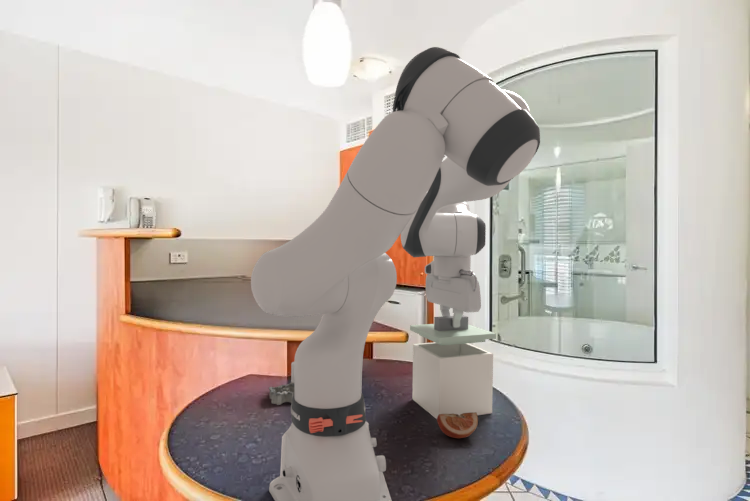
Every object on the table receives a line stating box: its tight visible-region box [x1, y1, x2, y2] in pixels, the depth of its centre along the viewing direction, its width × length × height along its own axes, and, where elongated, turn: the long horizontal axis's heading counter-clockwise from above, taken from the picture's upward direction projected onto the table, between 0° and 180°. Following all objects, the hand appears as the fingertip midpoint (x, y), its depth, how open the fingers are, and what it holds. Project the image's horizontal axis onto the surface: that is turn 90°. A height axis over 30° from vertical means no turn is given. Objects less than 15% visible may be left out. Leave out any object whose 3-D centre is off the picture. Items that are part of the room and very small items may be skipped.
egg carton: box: [268, 381, 294, 406], centre depth 108 cm, size 11×8×4 cm
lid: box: [409, 314, 497, 345], centre depth 103 cm, size 15×15×5 cm
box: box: [411, 342, 494, 420], centre depth 103 cm, size 14×14×14 cm
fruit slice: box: [436, 412, 479, 439], centre depth 87 cm, size 8×7×5 cm
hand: (451, 325), depth 103 cm, fingers closed on lid, 2 cm apart
